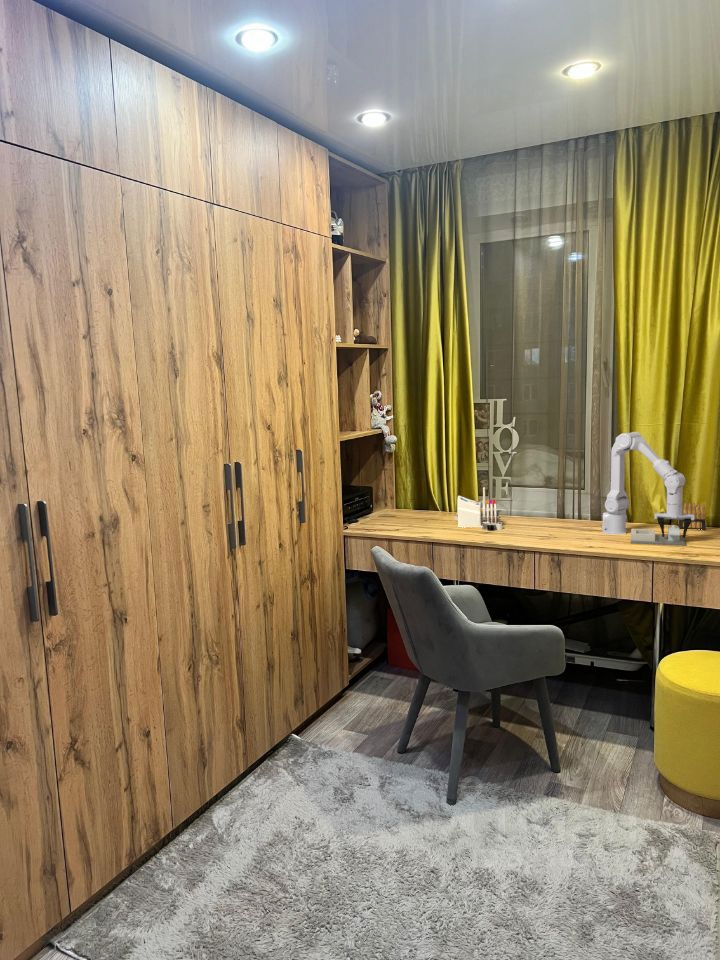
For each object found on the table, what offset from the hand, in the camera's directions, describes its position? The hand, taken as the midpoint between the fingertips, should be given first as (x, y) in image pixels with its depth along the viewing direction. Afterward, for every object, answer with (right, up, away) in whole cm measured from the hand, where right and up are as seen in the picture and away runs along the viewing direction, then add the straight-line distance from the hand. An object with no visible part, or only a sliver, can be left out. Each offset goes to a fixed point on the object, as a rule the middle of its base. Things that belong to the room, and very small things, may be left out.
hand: (673, 536), depth 278 cm
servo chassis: (-5, -2, +3) cm, 6 cm away
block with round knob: (0, -1, 0) cm, 1 cm away
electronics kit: (-69, +2, +54) cm, 87 cm away
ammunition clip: (+17, +1, +19) cm, 25 cm away
